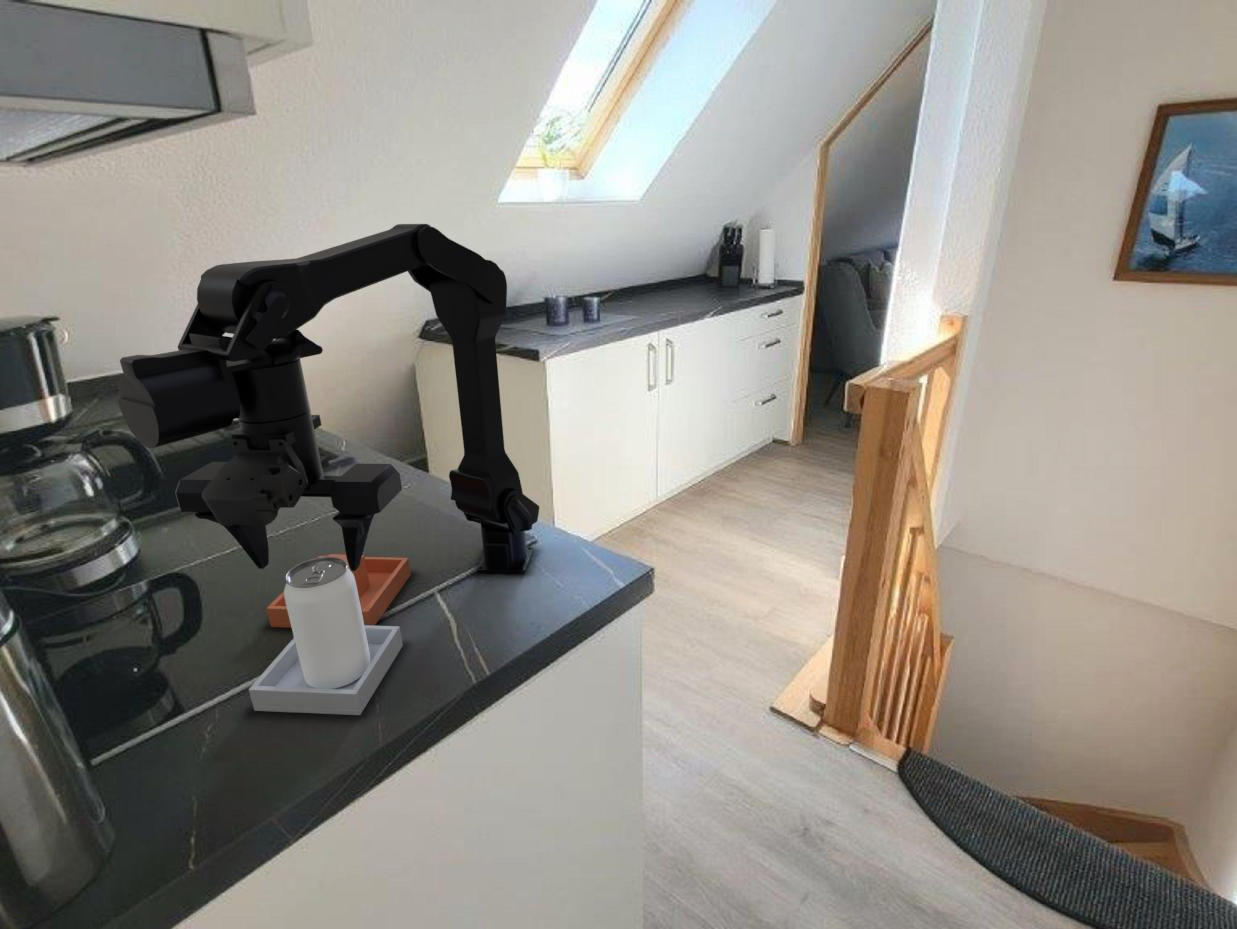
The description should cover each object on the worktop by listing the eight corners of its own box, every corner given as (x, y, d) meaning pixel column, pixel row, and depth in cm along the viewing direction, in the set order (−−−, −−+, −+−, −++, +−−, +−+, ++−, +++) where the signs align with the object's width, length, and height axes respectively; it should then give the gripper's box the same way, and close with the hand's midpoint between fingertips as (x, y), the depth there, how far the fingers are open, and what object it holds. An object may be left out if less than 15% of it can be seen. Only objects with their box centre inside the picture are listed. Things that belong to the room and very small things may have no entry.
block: (336, 584, 83) (329, 554, 82) (370, 585, 83) (364, 554, 81) (318, 604, 79) (311, 572, 77) (354, 606, 79) (347, 573, 77)
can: (379, 650, 71) (361, 553, 66) (359, 691, 65) (338, 587, 60) (319, 652, 71) (297, 555, 66) (294, 693, 65) (267, 590, 60)
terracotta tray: (322, 572, 87) (319, 555, 86) (411, 574, 86) (408, 557, 85) (270, 627, 76) (266, 608, 75) (371, 630, 75) (368, 611, 74)
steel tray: (310, 642, 73) (306, 623, 72) (403, 645, 72) (399, 626, 71) (254, 711, 63) (248, 689, 62) (360, 715, 62) (355, 694, 61)
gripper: (101, 443, 50) (157, 613, 56) (332, 445, 49) (365, 619, 55) (198, 403, 61) (237, 550, 67) (391, 404, 59) (414, 554, 65)
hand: (309, 567), depth 63 cm, fingers open, 9 cm apart
